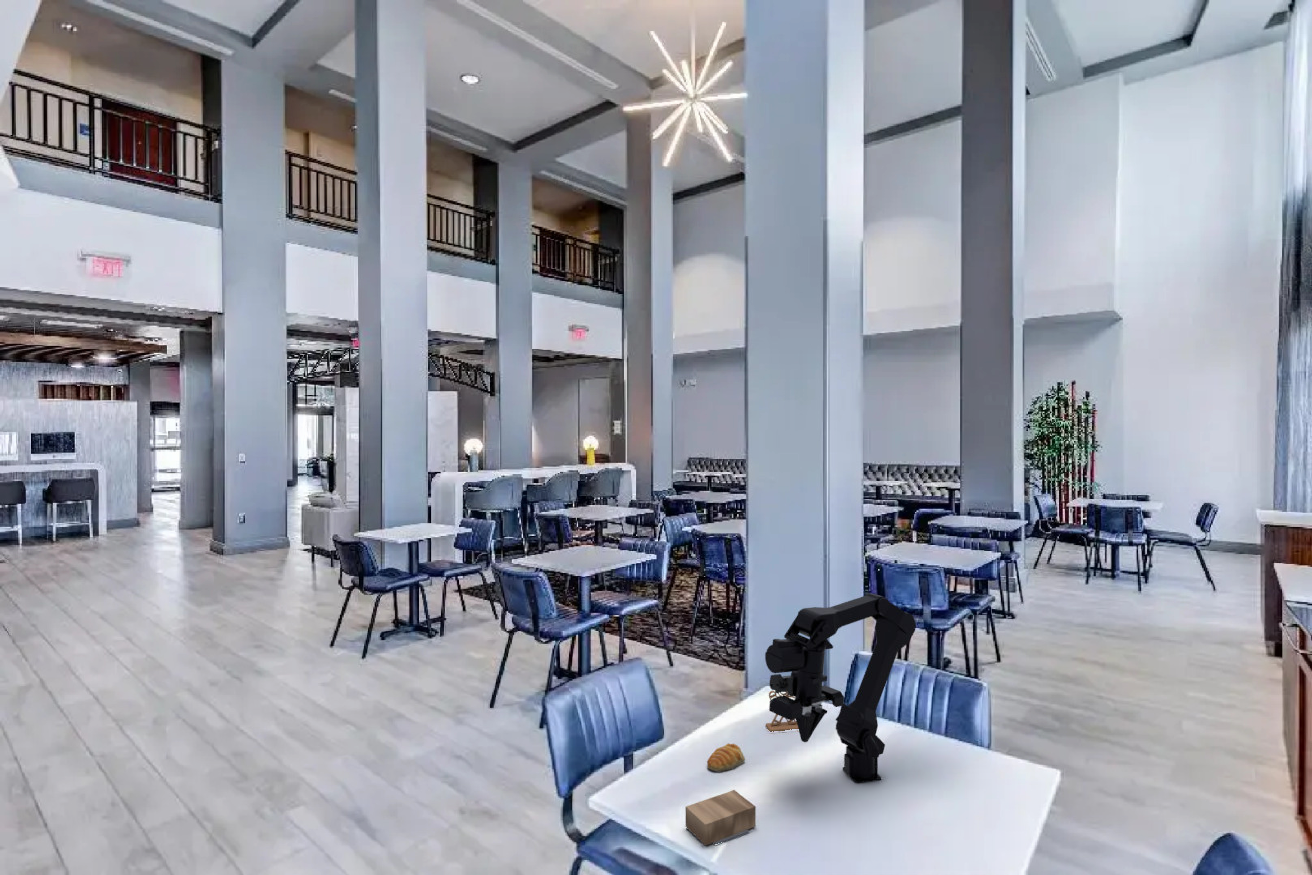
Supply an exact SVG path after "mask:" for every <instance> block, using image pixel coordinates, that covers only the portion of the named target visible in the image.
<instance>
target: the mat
mask: <svg viewBox="0 0 1312 875" xmlns="http://www.w3.org/2000/svg"><path fill="white" fill-rule="evenodd" d="M749 833H750V829H747V830H745V831H742V832H739V833H737V834H734V835H732V836H729V837H726V838H724V839H721V840H718V841H716V842H713V843H714V844H718V843H721V842H724V843H727V842H730V841H732V840H735V839H737V838H739V837H742V836H745V835H747V834H749ZM726 841H727V842H726ZM713 843H712V844H713ZM714 844H713V845H714ZM721 844H722V843H721Z"/></svg>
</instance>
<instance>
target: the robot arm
mask: <svg viewBox="0 0 1312 875" xmlns="http://www.w3.org/2000/svg"><path fill="white" fill-rule="evenodd" d="M870 617H871V618H872V619H873V620H874V621H875V626H874V633H875V638H876V639H875V640H876V641H875V642H876V643H875V646H874V648H873V651H872V653H871V655H870V658H869V661H868V664H867V666H866V670H864V674H863V677H862V679H861V683H860V685H859V688H858V690H857V693H856V695H855V698H854V700H853V701H851V702H850V703H849V704H848V705H847V704H845V703H844V702H845V701H844V699H845V698H844V695H843V693H842V691H840V690H837V689H835V688H832V687H830V686H827V685H823V683H824V682H827V681H828V675H825V674H824V671H825V670H824V667H825V654H826V650H833V648H834V645H833V644H832V643H831V642H830V641H829V640H828V639H829V638H831V637H832V636H835V635H836V633H837V632H838V630H839V629H840V628H842V627H845V626H848V625H851V624H853V623H857V622H859V621H862V620H865V619H868V618H870ZM916 629H917V622H916V620H915V617H914V615H912V613H909V612H906V611H904V610H903V609H901V608H899V607H898V606H896V605H895V604H893V603H892V602H890V601H889V600H888V598H886V596H885V597H884V596H883V595H882V596H881V595H878V594H875V593H872V592H871V593H870V592H869V593H866V594H864V595H863V596H860V597H858V598H854V599H851V600H848V601H844V602H842V603H839V604H835V605H833V606H829V607H822V606H821V607H817V606H815V607H814V606H812V607H803V608H802V609H800V610H799V611H798V612H797V615H796V617H795V619H794V620H793V622H792V623H791V624H790V626H789V628H788V629H787V630H786V633H785V634H784V636H783V637H784V639H781V638H774V639H772V644H771V645H769V646H768V647H767V649H766V651H765V653H764V654H765V655H764V657H765V658H764V659H765V660H764V661H765V663H766V666H767V668H768V670H769V672H771V673H772V674H771V675H770V677H769V678H770V679H769V688H770V689H771V691H775V693H776V694H778V693H779V694H780V692H781V693H786V692H788V695H789V696H793V697H795V699H794V698H792V697H786V696H783V695H781V696H780V697H776V696H775V697H774V698H773V697H772V698H771V700H770V699H769V707H768V708H769V709H768V710H769V712H771V713H773V714H775V715H776V714H777V715H778V716H780V717H783V719H785V718H786V719H787V720H793V721H794V719H795V721H796V722H797V725H798V729H799V731H798V732H799V737H800V740H801V742H803V743H808V742H809V740H810V738H811V737H812V735H813V733H814V731H815V730H816V728H817V727H818V725H819V723H820V722H821V721H822V719H823V718H824V716H825V715H826V714H828V710H827V709H825V708H823V704H822V703H825V702H828V701H830V702H831V703H832V705H833V707H834V708H837V707H840V710H839V712H838V715H837V717H836V718H835V721H836V724H835V730H836V733H837V736H838V737H839V740H840V742H841V744H844V745H845V746H846V747H845V753H844V755H843V759H844V760H843V767H842V771H843V772H844V773H845V774H846V775H847V776H848V777H849V778H850V779H851V781H853V782H854V783H855V784H861V783H863V784H864V783H869V782H876V781H877V782H879V781H882V776H880V774H878V772H879V767H878V764H879V762H878V761H879V760H878V759H879V756H881V755H882V754H884V751H885V747H886V744H885V743H884V742H883V741H882V739H881V738H880V737H878V735H877V731H878V727H879V724H878V717H877V709H878V706H879V703H880V700H881V697H882V695H883V692H884V691H885V690H884V689H885V687H886V684H887V681H888V680H889V677H890V674H891V671H892V668H893V666H894V663H895V660H896V657H897V655H898V652H899V651H900V650H901V649H903V648H904V647H905V646H907V645H908V644H909V643H910V641H911V640H912V637H913V635H914V634H915V632H916ZM800 634H801V635H800ZM781 673H790V674H789V675H783V676H782V674H781ZM775 693H774V694H775ZM786 719H785V720H786Z"/></svg>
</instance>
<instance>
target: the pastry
mask: <svg viewBox="0 0 1312 875" xmlns="http://www.w3.org/2000/svg"><path fill="white" fill-rule="evenodd" d="M745 760H746V758H745V756H744V753H743V751H742V750H741V748H740V746H738V745H737V744H735V743H727V744H725V745H723V746H720V747H717V748H716V749H715V750H714V751H713V752H712V753H711V755H710V756H709V758H708V759H707V761H706V762H707V769H708V770H711V771H714V772H717V773H721V772H723V771H725V772H726V771H731V770H732V769H734V768H737V767H739V766H741V765H742V764H744V762H745Z"/></svg>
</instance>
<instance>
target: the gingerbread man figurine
mask: <svg viewBox="0 0 1312 875" xmlns="http://www.w3.org/2000/svg"><path fill="white" fill-rule="evenodd" d="M773 693H774V694H773ZM771 694H772V695H771ZM780 696H786V697H789V698H791V699H793V700H795V697H794V696H790V695H788V692H779V693H775V690H771V691H769V692H768V697H769V701H770V700H772V699H773V698H776V697H780ZM778 716H779V715H777V714H775V715H774V717H773V719H772V721H771V722H766V723H765V728H766V727H767V728H766V730H767V729H768V730H769V731H770V732H772V731H773V732H774V731H785V730H790V729H791V730H792V729H798V725H797V722H796V719H794V720H788V719H786V718H784V717H782V716H780V719H779V720H778V719H777V717H778ZM783 719H785V720H786V721H783ZM782 721H783V722H782ZM768 730H767V731H768ZM769 731H768V732H769Z"/></svg>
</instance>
